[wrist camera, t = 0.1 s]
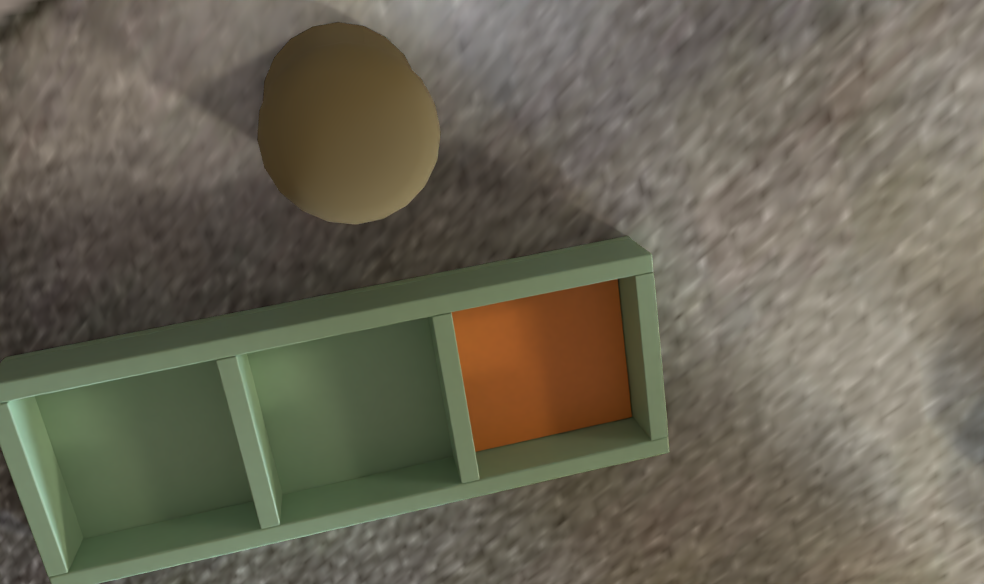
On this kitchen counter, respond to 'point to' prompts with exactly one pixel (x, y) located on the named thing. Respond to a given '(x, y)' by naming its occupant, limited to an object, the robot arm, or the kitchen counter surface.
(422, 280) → the compartment tray
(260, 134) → the cork
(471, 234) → the kitchen counter surface
